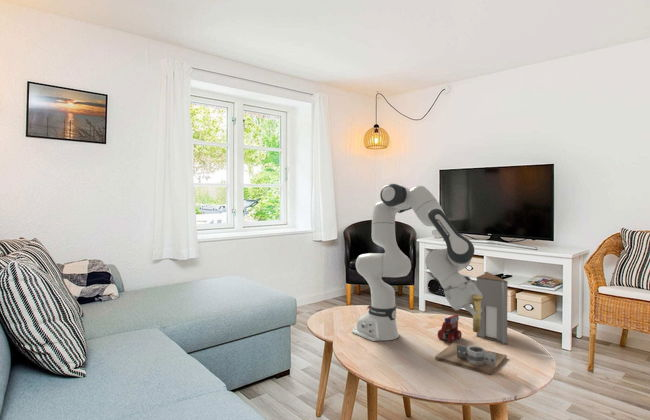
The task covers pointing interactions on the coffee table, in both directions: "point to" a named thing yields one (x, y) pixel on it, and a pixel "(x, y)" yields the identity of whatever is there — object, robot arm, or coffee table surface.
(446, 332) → the toy fire truck
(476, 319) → the hinge pin
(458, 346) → the hinge
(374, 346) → the coffee table surface
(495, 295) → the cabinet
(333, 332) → the coffee table surface
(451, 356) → the walnut board
